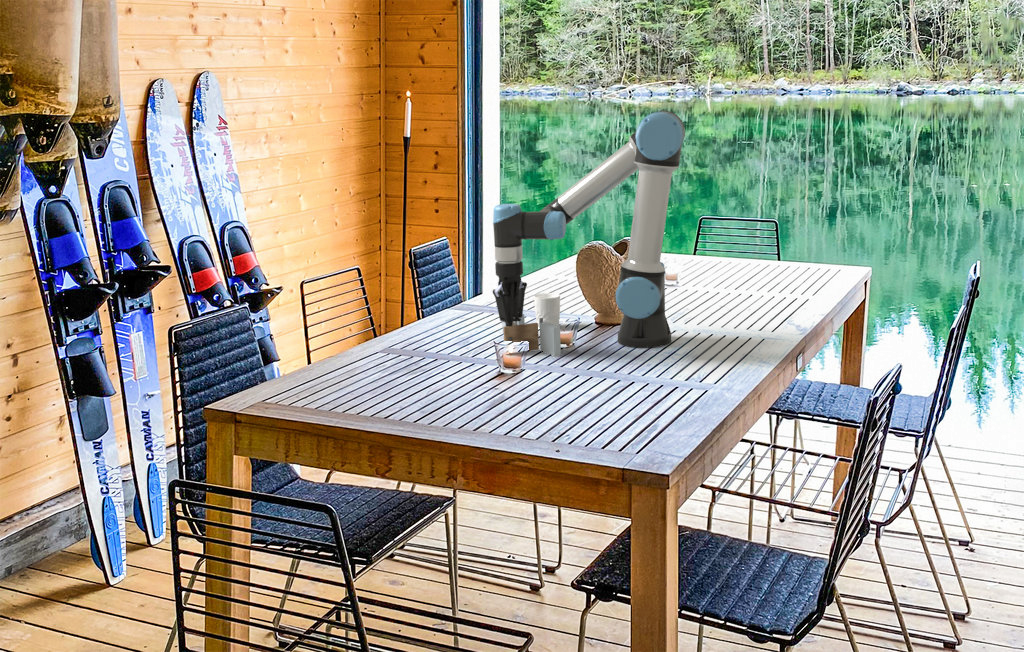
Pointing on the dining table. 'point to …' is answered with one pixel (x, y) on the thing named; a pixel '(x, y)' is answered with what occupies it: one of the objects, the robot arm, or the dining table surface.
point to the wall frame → (546, 336)
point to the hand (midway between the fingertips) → (512, 344)
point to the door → (523, 334)
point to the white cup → (547, 308)
